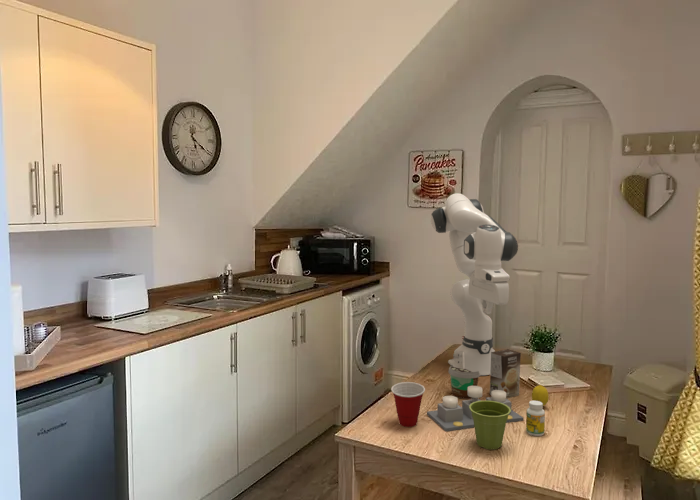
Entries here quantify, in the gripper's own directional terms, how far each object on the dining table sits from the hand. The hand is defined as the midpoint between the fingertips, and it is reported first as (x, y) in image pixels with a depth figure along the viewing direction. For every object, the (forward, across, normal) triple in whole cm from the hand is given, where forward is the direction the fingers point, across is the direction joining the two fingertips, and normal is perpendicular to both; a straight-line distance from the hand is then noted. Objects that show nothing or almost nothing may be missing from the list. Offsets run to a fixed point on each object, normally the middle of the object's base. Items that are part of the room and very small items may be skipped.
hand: (486, 313), depth 189 cm
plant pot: (+33, +26, -14) cm, 45 cm away
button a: (+32, +7, +1) cm, 33 cm away
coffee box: (+33, -8, +13) cm, 37 cm away
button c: (+32, +7, -17) cm, 37 cm away
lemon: (+33, +6, +18) cm, 38 cm away
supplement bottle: (+33, +23, +4) cm, 41 cm away
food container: (+33, -12, -3) cm, 36 cm away
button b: (+29, +7, -8) cm, 31 cm away
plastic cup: (+33, +5, -31) cm, 46 cm away
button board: (+33, +7, -8) cm, 35 cm away
